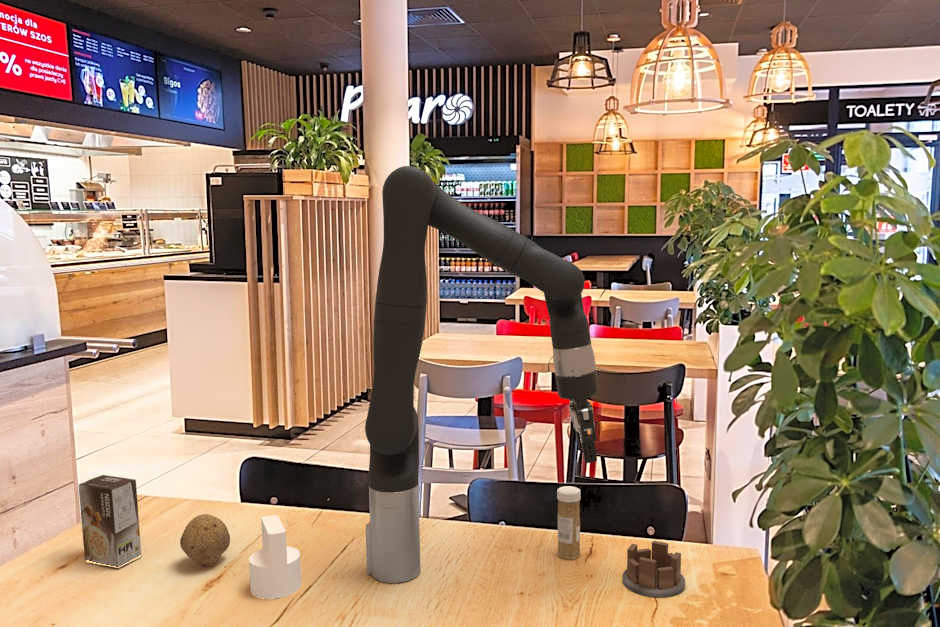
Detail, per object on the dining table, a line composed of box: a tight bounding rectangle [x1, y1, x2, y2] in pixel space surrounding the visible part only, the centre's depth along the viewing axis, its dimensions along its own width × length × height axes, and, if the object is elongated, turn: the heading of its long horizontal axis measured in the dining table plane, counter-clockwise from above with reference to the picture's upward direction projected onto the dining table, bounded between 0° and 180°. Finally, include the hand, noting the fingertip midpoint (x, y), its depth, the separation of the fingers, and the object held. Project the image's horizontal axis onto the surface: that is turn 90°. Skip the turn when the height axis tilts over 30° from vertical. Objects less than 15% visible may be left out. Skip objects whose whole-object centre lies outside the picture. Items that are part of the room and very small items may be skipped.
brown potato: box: [179, 513, 231, 566], centre depth 151 cm, size 9×9×10 cm
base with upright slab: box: [248, 514, 302, 600], centre depth 140 cm, size 9×9×12 cm
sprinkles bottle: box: [556, 485, 582, 560], centre depth 152 cm, size 5×5×13 cm
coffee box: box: [78, 474, 142, 567], centre depth 153 cm, size 9×6×16 cm
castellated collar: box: [622, 540, 686, 599], centre depth 141 cm, size 11×11×6 cm
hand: (587, 454), depth 144 cm, fingers open, 8 cm apart
